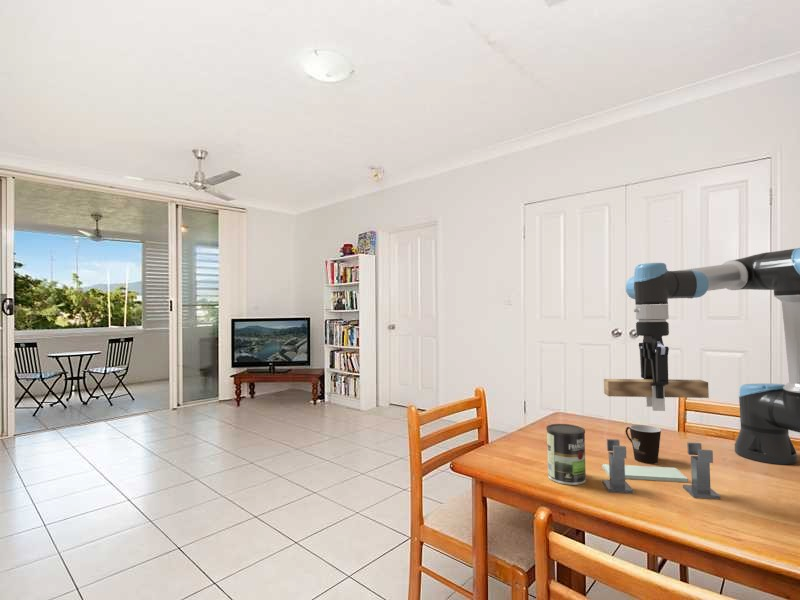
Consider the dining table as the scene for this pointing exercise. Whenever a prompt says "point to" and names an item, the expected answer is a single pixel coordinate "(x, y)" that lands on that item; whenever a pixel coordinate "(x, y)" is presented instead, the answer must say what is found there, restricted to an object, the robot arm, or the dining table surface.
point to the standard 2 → (700, 472)
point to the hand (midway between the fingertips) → (655, 408)
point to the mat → (651, 473)
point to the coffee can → (566, 454)
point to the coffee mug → (645, 443)
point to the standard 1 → (617, 468)
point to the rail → (645, 389)
